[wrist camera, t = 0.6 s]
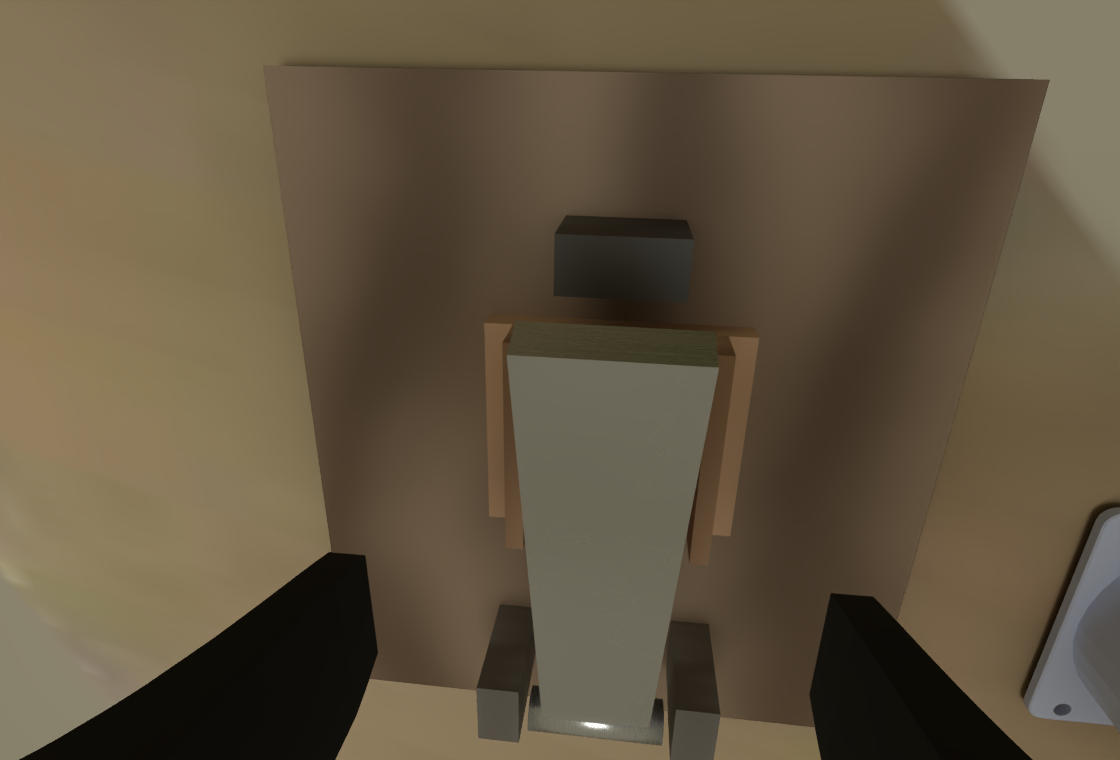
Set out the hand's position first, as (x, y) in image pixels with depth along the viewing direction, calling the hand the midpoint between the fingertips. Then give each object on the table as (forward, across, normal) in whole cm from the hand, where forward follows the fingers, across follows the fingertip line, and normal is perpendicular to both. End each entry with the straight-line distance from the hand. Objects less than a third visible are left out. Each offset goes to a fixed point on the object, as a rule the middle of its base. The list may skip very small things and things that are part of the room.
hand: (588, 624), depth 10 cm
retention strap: (+4, 0, +2) cm, 5 cm away
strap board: (+10, 0, +2) cm, 10 cm away
